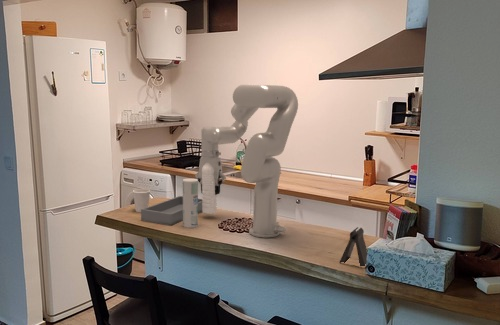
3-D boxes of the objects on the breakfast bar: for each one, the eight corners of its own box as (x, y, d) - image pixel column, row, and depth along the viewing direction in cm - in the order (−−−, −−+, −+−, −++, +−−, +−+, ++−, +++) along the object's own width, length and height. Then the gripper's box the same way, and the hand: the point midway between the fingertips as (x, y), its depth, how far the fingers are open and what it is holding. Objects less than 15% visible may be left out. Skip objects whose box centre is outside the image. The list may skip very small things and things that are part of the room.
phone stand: (339, 263, 150) (341, 229, 148) (345, 257, 155) (347, 224, 153) (365, 269, 145) (367, 234, 143) (370, 263, 150) (372, 229, 148)
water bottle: (210, 214, 196) (210, 159, 192) (199, 212, 199) (198, 158, 196) (222, 210, 203) (222, 157, 200) (211, 209, 206) (210, 156, 203)
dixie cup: (140, 214, 204) (139, 193, 202) (129, 210, 209) (128, 190, 207) (154, 210, 210) (154, 190, 209) (143, 207, 215) (143, 187, 214)
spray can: (194, 228, 184) (194, 181, 181) (180, 227, 186) (180, 180, 182) (200, 224, 190) (200, 179, 187) (186, 222, 192) (186, 177, 189)
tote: (207, 209, 214) (207, 199, 213) (171, 225, 187) (171, 214, 186) (179, 205, 221) (179, 195, 220) (141, 220, 194) (140, 209, 193)
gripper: (230, 154, 197) (231, 193, 200) (197, 152, 204) (198, 190, 207) (223, 156, 191) (223, 196, 193) (189, 154, 198) (189, 193, 200)
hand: (210, 193), depth 200 cm, fingers closed on water bottle, 6 cm apart
